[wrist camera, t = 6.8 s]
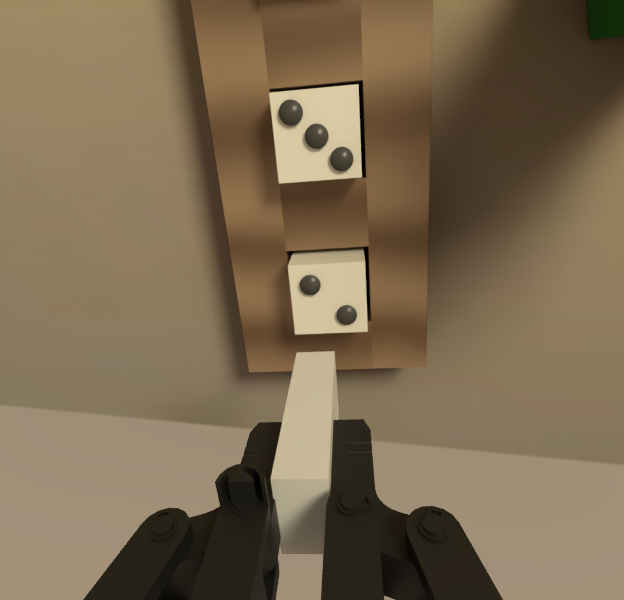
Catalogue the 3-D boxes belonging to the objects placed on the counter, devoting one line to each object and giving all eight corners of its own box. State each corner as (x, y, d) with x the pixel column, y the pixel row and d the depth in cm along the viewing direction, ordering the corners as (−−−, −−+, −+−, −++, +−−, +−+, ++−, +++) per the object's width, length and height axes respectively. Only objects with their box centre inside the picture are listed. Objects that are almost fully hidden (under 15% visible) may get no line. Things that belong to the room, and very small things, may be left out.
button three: (360, 169, 26) (361, 178, 23) (287, 175, 27) (278, 184, 23) (357, 88, 25) (358, 83, 21) (279, 95, 25) (268, 92, 22)
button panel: (419, 345, 32) (425, 366, 29) (257, 351, 33) (249, 372, 31) (425, -218, 21) (437, -270, 18) (179, -179, 22) (155, -221, 19)
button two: (365, 308, 30) (367, 333, 26) (300, 311, 30) (294, 336, 27) (363, 244, 28) (365, 262, 25) (294, 248, 28) (287, 267, 25)
